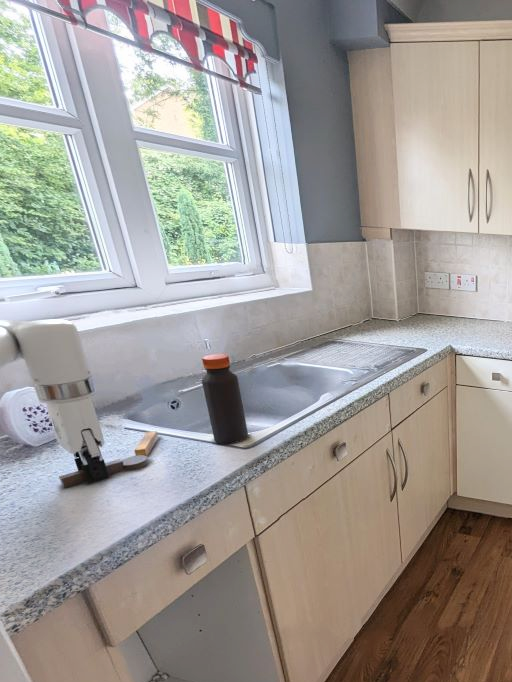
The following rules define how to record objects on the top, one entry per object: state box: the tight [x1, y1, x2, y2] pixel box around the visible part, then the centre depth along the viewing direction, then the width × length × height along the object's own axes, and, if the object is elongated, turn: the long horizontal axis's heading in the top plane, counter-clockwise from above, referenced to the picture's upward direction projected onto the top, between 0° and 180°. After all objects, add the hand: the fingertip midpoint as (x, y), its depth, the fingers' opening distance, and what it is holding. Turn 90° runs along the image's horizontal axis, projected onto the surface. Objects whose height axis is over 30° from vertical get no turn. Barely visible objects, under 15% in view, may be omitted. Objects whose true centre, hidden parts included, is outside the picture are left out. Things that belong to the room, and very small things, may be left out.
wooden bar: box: [134, 430, 159, 457], centre depth 101 cm, size 10×2×2 cm, turn 26°
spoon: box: [58, 455, 149, 489], centre depth 90 cm, size 13×4×2 cm, turn 146°
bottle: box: [201, 353, 249, 445], centre depth 104 cm, size 7×7×20 cm
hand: (94, 476), depth 88 cm, fingers open, 3 cm apart
